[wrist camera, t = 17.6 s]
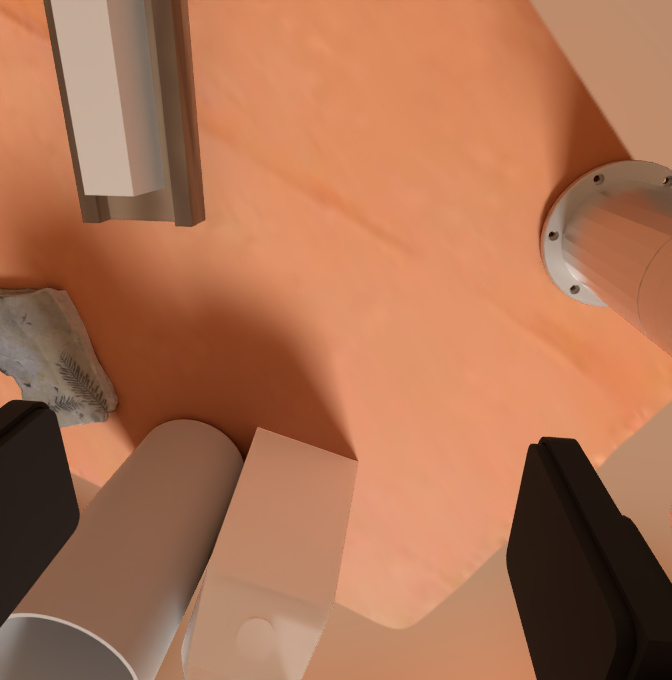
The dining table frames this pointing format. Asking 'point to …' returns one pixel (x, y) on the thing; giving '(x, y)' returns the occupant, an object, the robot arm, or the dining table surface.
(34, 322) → the fossil rock
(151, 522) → the cylinder vase
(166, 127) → the brown long channel piece
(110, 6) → the beige rectangular block
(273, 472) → the milk
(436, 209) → the dining table surface
